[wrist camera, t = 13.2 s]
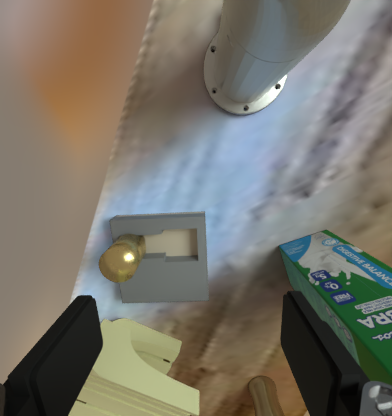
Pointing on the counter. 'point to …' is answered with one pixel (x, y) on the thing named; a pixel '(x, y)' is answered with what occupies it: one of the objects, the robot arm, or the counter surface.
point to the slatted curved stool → (135, 375)
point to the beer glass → (265, 397)
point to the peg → (123, 258)
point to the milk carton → (346, 296)
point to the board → (166, 257)
